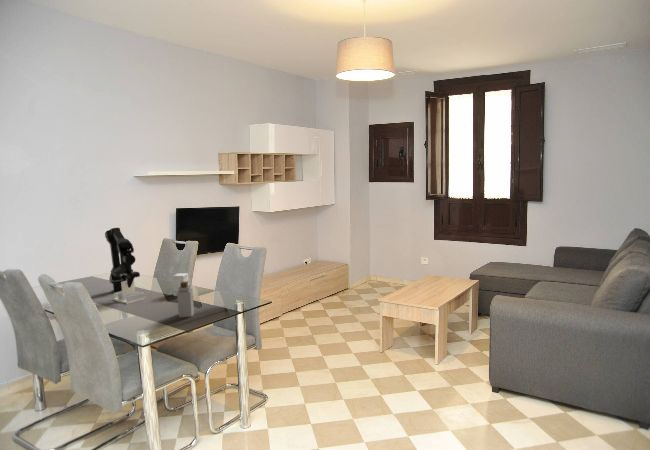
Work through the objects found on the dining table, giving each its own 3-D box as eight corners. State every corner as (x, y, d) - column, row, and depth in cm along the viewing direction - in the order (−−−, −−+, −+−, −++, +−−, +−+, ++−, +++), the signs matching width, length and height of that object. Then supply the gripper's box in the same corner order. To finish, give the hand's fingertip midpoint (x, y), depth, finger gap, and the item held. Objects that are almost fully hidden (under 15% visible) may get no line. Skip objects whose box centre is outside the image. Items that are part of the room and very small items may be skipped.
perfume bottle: (181, 313, 269) (178, 281, 266) (194, 312, 269) (191, 280, 267) (178, 317, 262) (176, 284, 260) (191, 316, 263) (189, 283, 260)
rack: (113, 299, 299) (112, 293, 298) (131, 294, 308) (131, 288, 307) (126, 303, 289) (126, 297, 289) (145, 298, 299) (144, 292, 298)
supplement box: (184, 296, 301) (183, 276, 300) (173, 296, 303) (171, 275, 301) (190, 292, 309) (188, 273, 307) (179, 292, 310) (177, 272, 308)
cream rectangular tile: (122, 296, 296) (121, 281, 295) (133, 293, 302) (131, 279, 301) (124, 297, 295) (123, 282, 294) (135, 294, 300) (134, 279, 299)
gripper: (104, 262, 295) (107, 288, 297) (121, 266, 283) (124, 292, 286) (122, 259, 304) (124, 283, 306) (139, 262, 292) (141, 288, 294)
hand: (128, 287), depth 298 cm, fingers closed on cream rectangular tile, 2 cm apart
